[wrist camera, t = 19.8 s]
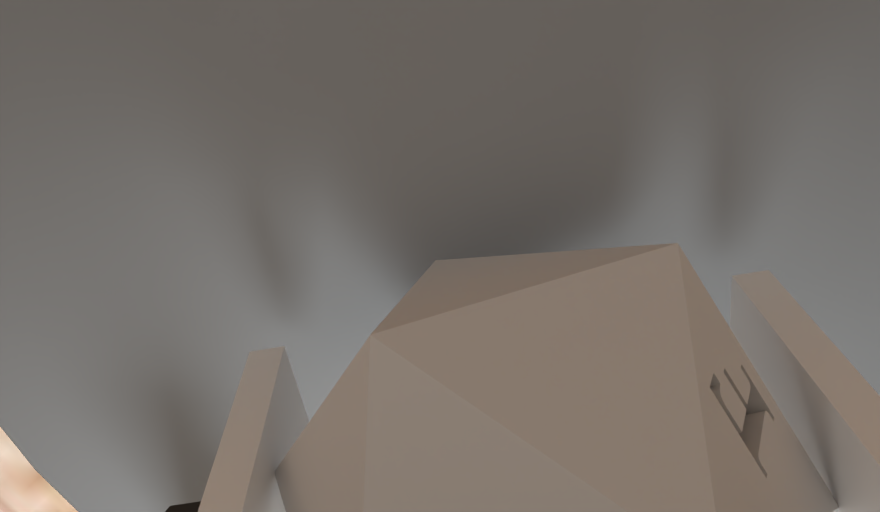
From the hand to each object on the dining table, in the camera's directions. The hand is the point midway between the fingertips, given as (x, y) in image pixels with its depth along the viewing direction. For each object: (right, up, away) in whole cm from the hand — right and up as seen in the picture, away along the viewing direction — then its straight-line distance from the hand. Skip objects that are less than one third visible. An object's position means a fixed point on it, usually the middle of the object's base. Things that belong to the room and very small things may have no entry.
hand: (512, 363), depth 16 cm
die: (0, 0, 0) cm, 0 cm away
